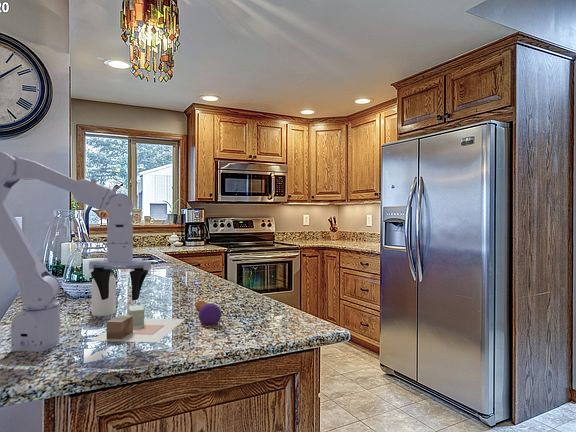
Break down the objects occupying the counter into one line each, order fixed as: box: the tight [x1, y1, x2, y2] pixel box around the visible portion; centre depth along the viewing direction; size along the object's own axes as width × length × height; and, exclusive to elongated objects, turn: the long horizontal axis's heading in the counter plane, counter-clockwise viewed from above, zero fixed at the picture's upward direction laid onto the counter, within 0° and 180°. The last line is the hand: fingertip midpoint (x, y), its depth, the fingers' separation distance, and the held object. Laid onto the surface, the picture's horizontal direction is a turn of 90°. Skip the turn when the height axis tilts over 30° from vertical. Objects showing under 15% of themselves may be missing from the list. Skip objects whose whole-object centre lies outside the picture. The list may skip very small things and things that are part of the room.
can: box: [91, 273, 117, 317], centre depth 119 cm, size 6×6×12 cm
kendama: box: [195, 300, 222, 326], centre depth 116 cm, size 6×6×20 cm
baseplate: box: [89, 317, 186, 343], centre depth 103 cm, size 20×16×1 cm
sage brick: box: [128, 304, 145, 326], centre depth 109 cm, size 6×4×4 cm, turn 23°
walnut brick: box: [106, 314, 133, 339], centre depth 98 cm, size 6×4×4 cm, turn 176°
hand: (120, 299), depth 98 cm, fingers open, 7 cm apart
